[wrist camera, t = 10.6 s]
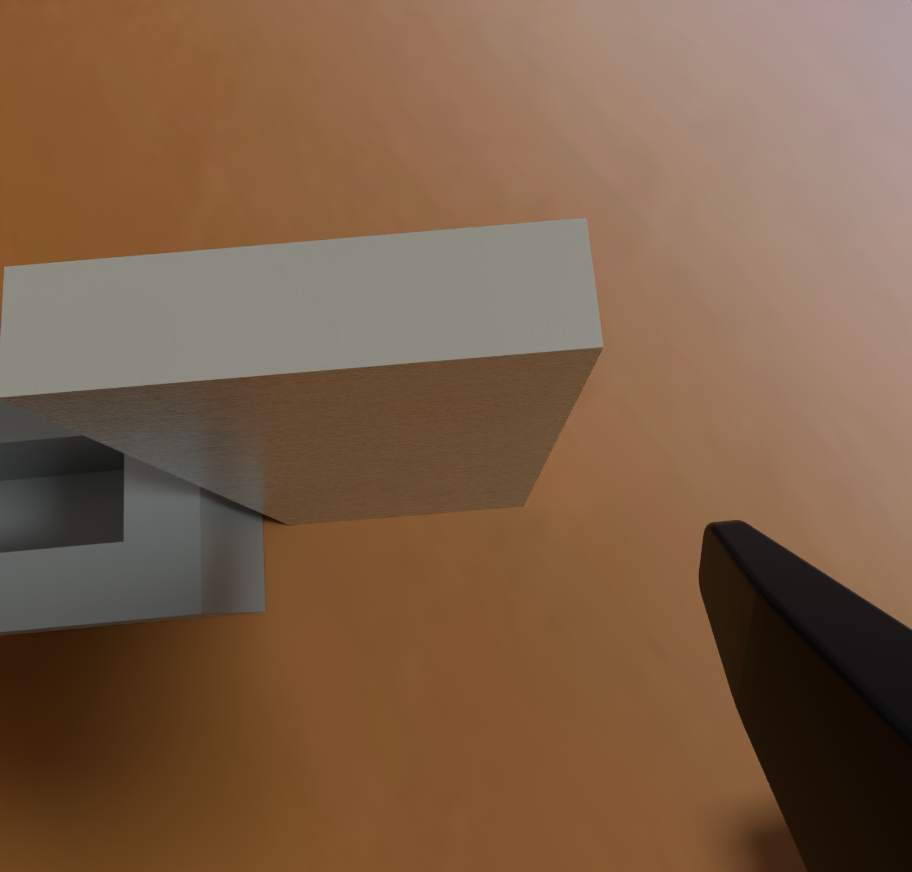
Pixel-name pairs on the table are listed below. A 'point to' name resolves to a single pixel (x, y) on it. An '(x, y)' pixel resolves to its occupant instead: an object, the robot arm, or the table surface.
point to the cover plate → (319, 364)
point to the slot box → (113, 537)
